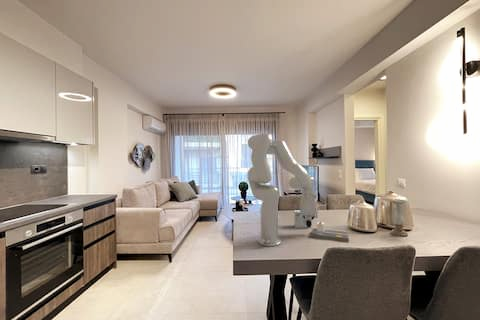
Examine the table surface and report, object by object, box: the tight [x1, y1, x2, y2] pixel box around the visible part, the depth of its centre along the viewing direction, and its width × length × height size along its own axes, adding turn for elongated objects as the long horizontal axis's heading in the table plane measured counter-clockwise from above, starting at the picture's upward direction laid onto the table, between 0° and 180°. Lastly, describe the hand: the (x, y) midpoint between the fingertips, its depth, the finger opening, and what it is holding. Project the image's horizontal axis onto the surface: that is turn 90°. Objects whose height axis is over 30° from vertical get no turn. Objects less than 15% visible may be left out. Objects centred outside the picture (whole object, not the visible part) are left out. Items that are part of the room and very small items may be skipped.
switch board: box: [310, 227, 350, 243], centre depth 134 cm, size 12×20×3 cm, turn 66°
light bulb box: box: [293, 209, 312, 229], centre depth 155 cm, size 11×7×11 cm, turn 84°
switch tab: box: [316, 221, 326, 232], centre depth 136 cm, size 4×4×6 cm
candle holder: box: [389, 199, 409, 237], centre depth 137 cm, size 9×9×20 cm
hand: (308, 226), depth 139 cm, fingers closed
